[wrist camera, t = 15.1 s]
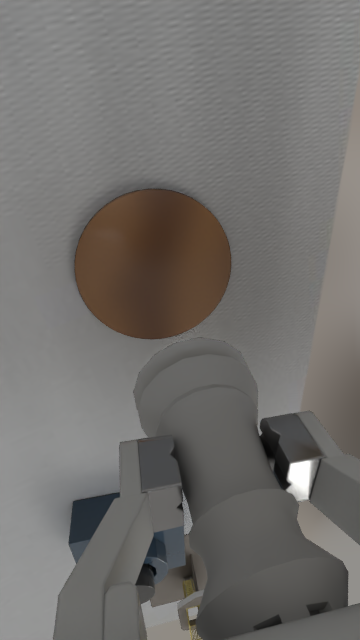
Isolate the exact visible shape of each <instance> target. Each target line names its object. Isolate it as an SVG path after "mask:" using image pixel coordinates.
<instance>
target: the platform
mask: <svg viewBox="0 0 360 640" xmlns="http://www.w3.org/2000/svg"><path fill="white" fill-rule="evenodd" d="M188 536H189V534H188V535H184V540H185V559H186V565H184V566H180V567H176V568H171V569H168V574H167V575H166V576H165V577H164V578H163V580H162V581H161V582H159V583H158V584H156V585H155V595H154V596H153V597H152V598H151V599H150V601H151V605H152V607H155V606H159V605H163V604H167V603H171V602H175V601H178V600H182V599H183V600H182V601H180V602H179V603H177V608H178V614H179V619H180V623H181V629H182V630H190V635H191V640H192V633H191V630H195V629H196V631H197V628H196V619H194V620H190V621H189V616H188V610H187V609H189V608H193V607H197V606H198V611H199V607H200V604H201V600H202V596H203V593H204V589H205V586H206V582H207V579H208V578H207V571H206V568H205V566H204V563H203V560H202V558H201V557H200V556H199V555H198V554H197V553H196V552H194V551H193V550H192V549H191V548H190V544H189V537H188ZM197 636H198V634H197ZM201 639H202V638H201ZM197 640H200V639H197Z"/></svg>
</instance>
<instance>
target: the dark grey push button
mask: <svg viewBox="0 0 360 640" xmlns="http://www.w3.org/2000/svg"><path fill="white" fill-rule="evenodd" d="M135 586H136V587H137V589H138V594H139V599H140V604H142V603H145V602H147V601H148V600H150V599H151V598H152V597H153V596H154V595H155V582H154V571H153V566H152V565H150V564H143V565H142V568H141V571H140V573H139V576H138V579H137V581H136V584H135Z"/></svg>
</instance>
